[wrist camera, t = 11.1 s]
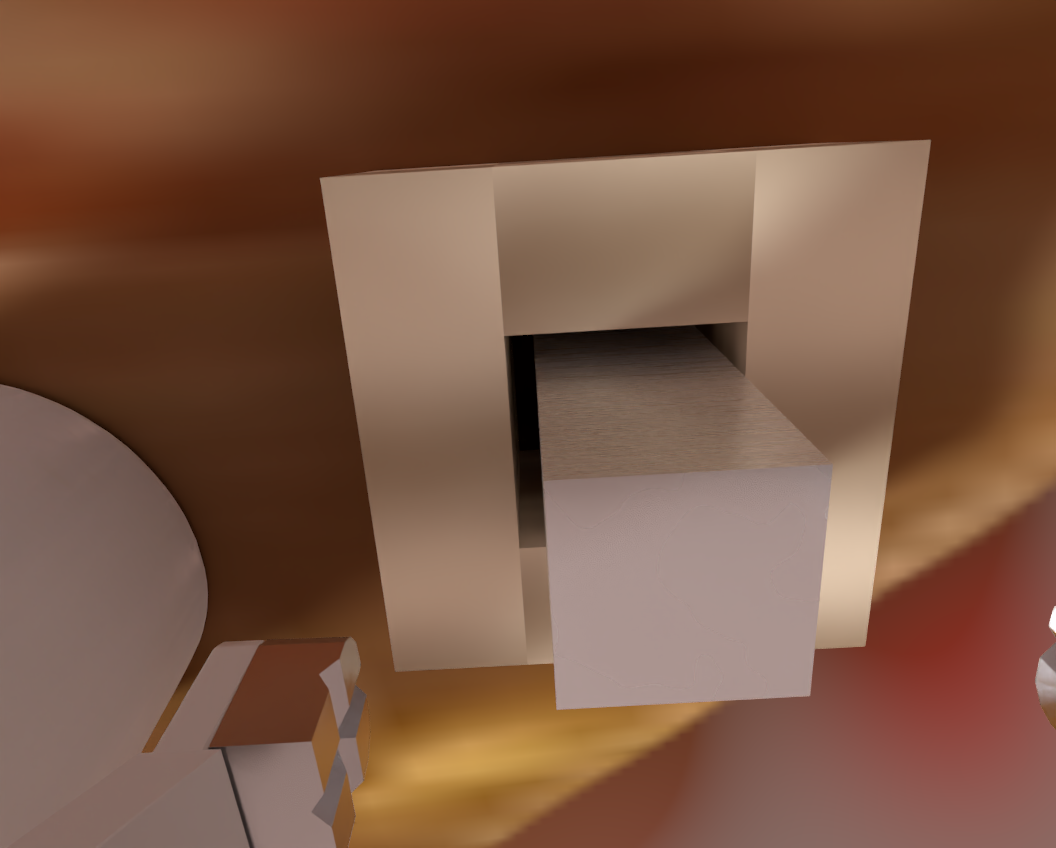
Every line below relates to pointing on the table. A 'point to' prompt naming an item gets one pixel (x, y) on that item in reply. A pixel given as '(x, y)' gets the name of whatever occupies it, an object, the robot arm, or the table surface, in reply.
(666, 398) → the square bar
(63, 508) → the utensil holder
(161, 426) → the table surface
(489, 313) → the socket block
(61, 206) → the table surface
